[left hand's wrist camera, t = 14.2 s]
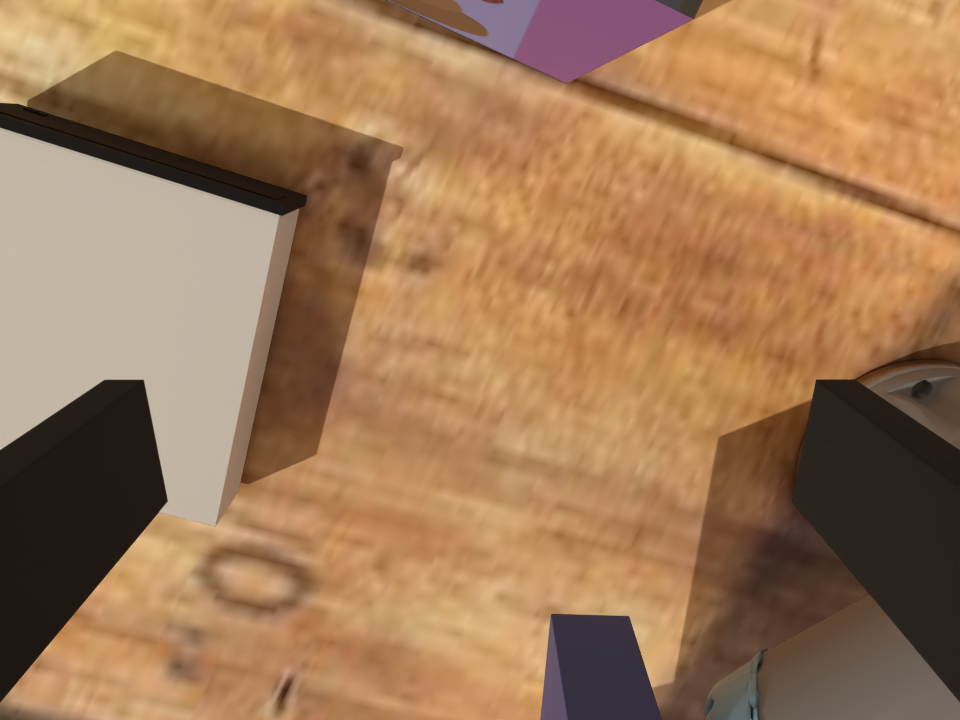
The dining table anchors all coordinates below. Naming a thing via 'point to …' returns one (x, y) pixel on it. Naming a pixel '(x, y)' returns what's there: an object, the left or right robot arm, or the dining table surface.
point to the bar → (595, 671)
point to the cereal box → (558, 28)
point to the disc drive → (139, 292)
